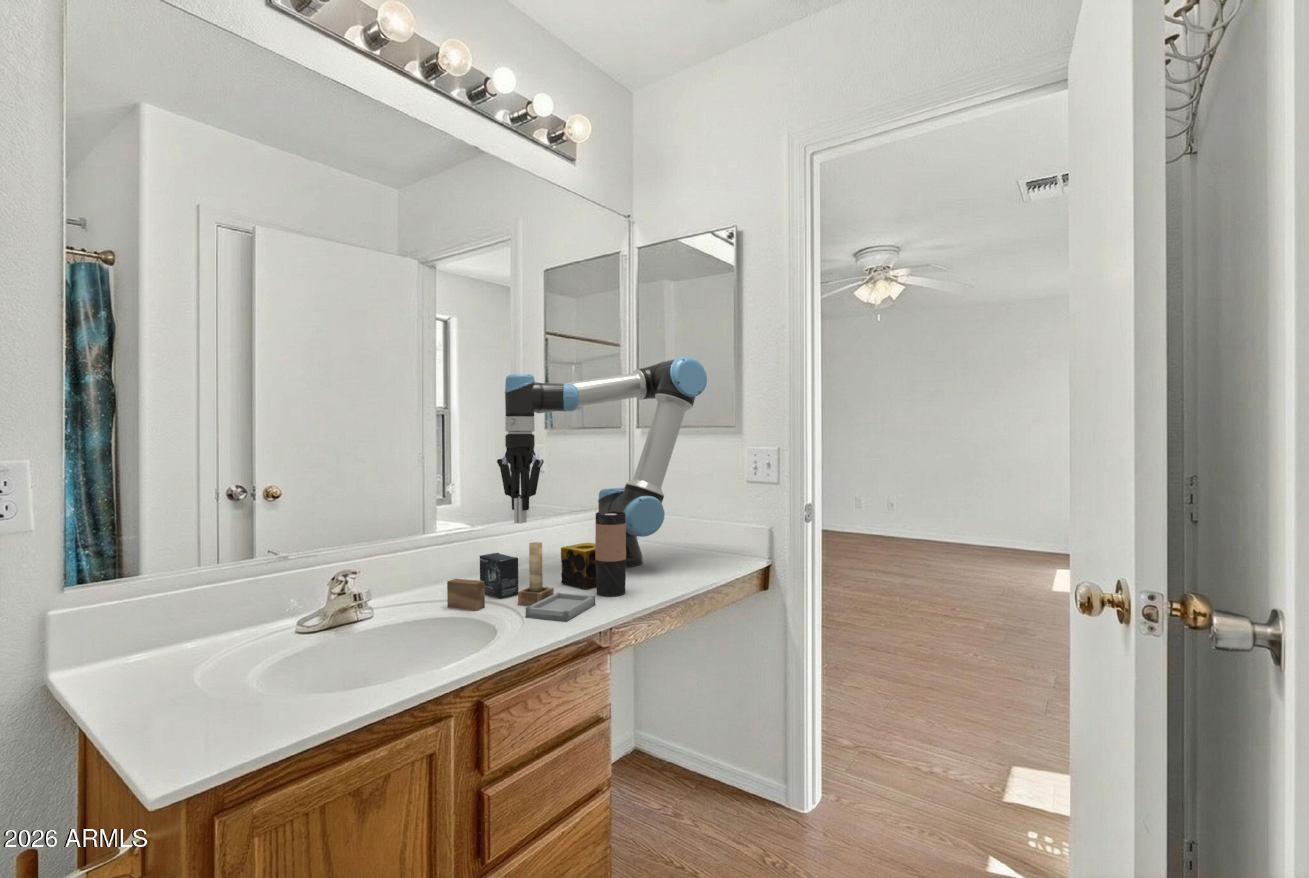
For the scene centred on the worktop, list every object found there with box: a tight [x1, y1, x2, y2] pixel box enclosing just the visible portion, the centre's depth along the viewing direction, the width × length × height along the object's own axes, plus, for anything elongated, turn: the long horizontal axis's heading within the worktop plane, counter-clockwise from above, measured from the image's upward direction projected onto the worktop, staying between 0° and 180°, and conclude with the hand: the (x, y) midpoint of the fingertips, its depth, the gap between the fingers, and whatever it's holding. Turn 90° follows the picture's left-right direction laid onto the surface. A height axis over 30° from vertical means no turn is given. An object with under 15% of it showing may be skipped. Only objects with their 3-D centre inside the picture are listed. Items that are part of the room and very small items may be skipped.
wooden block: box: [446, 578, 486, 612], centre depth 144 cm, size 3×8×6 cm, turn 70°
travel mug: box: [595, 511, 627, 598], centre depth 157 cm, size 8×8×20 cm
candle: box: [560, 542, 596, 590], centre depth 167 cm, size 10×10×10 cm
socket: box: [517, 586, 555, 607], centre depth 148 cm, size 6×6×3 cm
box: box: [479, 552, 519, 600], centre depth 157 cm, size 9×6×10 cm, turn 47°
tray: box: [525, 592, 596, 623], centre depth 141 cm, size 14×10×2 cm
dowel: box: [528, 541, 543, 593], centre depth 148 cm, size 3×3×14 cm
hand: (520, 522), depth 166 cm, fingers closed
